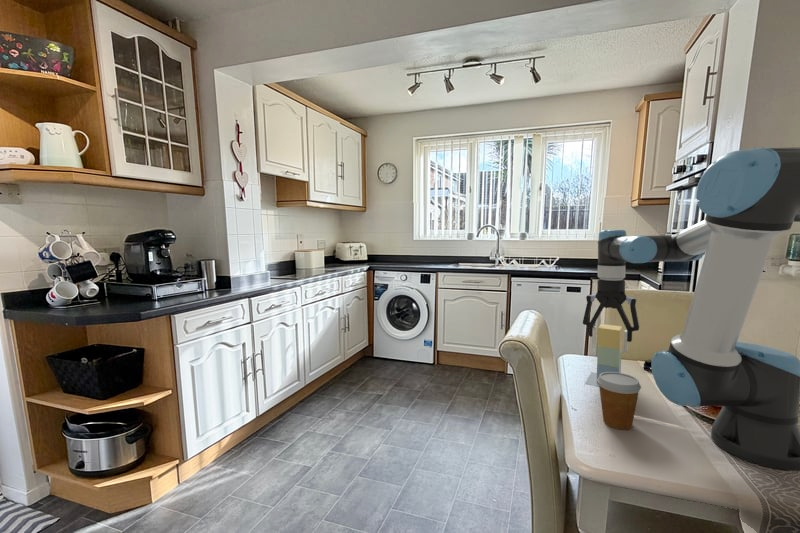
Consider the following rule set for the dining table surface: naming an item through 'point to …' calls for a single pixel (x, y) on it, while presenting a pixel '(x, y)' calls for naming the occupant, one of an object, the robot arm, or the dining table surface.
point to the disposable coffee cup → (618, 398)
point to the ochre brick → (610, 336)
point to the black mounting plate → (647, 365)
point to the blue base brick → (607, 369)
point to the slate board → (592, 379)
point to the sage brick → (609, 357)
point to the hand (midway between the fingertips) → (609, 348)
